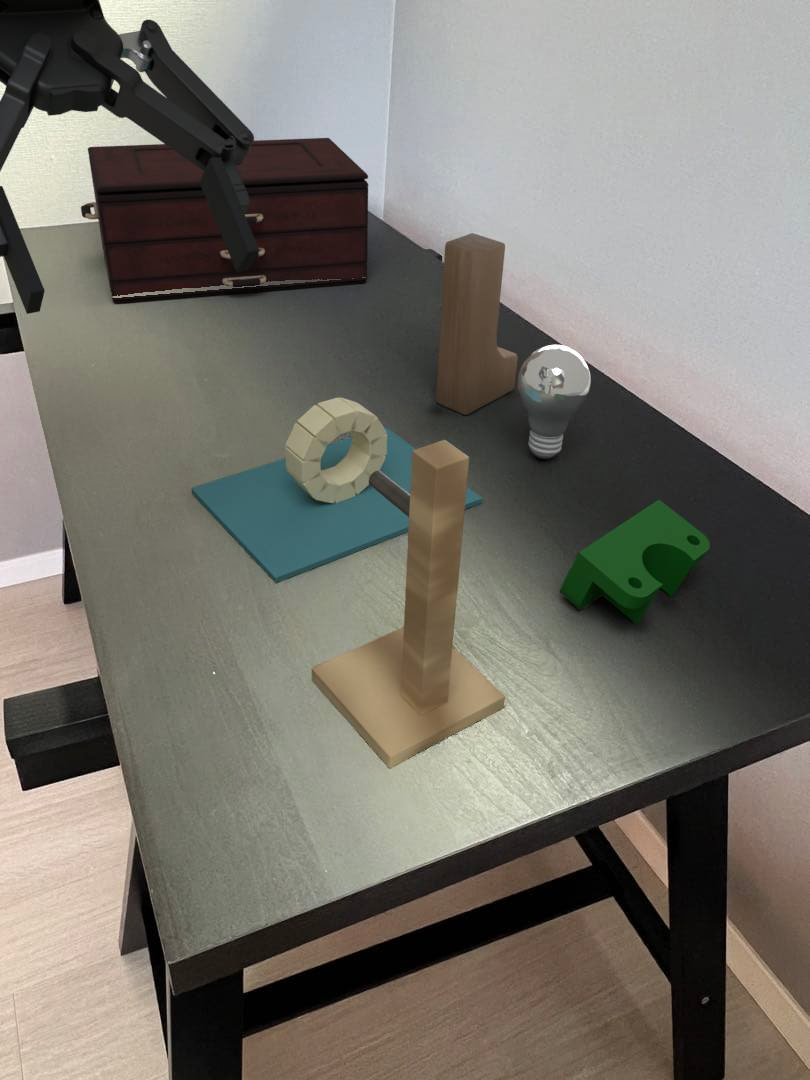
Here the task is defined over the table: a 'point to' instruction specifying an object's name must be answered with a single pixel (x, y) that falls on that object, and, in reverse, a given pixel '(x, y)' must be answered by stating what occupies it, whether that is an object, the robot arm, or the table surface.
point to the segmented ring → (323, 429)
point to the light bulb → (552, 395)
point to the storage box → (193, 235)
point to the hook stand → (417, 627)
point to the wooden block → (472, 326)
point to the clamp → (636, 561)
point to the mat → (308, 512)
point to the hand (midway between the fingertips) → (148, 281)
